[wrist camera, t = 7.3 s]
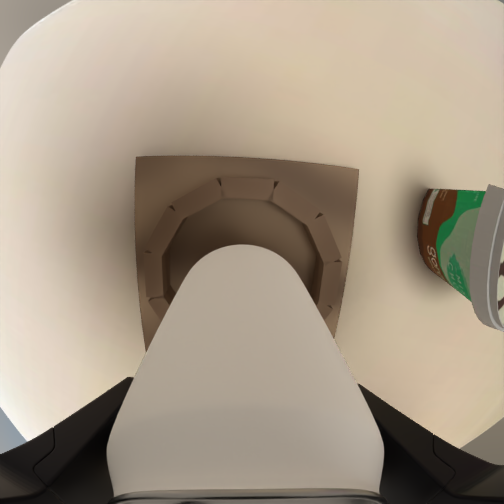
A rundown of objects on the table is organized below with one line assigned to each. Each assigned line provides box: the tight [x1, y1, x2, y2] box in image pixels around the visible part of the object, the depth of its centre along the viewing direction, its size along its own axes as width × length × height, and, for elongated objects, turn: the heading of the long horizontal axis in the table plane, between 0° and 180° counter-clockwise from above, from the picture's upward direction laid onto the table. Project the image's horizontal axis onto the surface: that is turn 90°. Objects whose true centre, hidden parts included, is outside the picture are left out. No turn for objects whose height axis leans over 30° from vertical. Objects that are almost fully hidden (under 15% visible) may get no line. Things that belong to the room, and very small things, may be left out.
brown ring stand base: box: [135, 156, 359, 352], centre depth 19 cm, size 15×15×3 cm
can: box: [107, 245, 388, 504], centre depth 9 cm, size 6×6×12 cm
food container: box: [417, 184, 504, 332], centre depth 16 cm, size 12×6×10 cm, turn 55°
